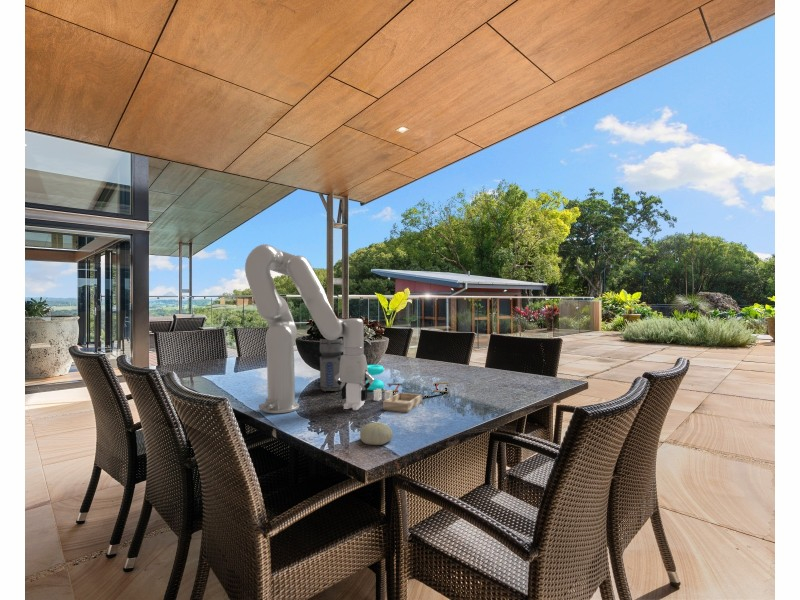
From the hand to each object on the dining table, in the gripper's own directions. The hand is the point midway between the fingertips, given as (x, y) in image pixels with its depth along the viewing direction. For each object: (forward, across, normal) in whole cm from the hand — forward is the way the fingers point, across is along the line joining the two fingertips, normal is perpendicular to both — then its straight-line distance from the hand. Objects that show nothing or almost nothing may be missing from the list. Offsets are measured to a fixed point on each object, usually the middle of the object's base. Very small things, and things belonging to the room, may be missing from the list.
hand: (354, 398), depth 150 cm
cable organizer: (+3, 0, 0) cm, 3 cm away
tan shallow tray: (+3, +17, +6) cm, 18 cm away
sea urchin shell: (+3, +24, -30) cm, 39 cm away
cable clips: (+3, +3, +10) cm, 11 cm away
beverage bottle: (+3, -23, +21) cm, 31 cm away
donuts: (+3, -7, +29) cm, 30 cm away
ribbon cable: (+3, +13, +30) cm, 33 cm away
